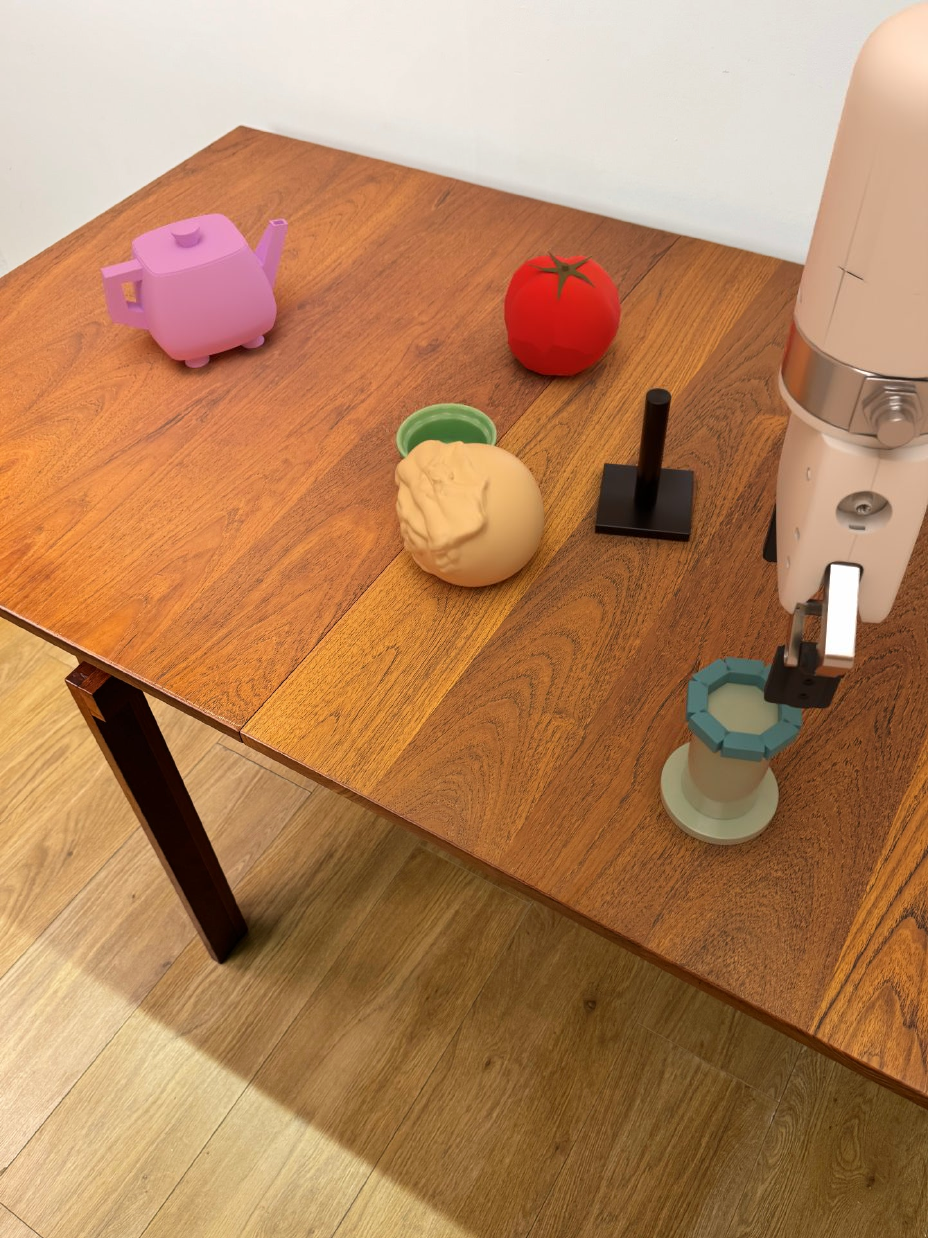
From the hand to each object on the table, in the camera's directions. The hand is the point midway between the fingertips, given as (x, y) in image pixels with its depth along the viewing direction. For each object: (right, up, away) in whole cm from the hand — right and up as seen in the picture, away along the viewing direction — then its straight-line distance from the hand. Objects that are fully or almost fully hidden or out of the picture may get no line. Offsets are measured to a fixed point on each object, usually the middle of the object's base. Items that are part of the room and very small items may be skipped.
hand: (792, 626), depth 53 cm
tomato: (-8, +27, +49) cm, 56 cm away
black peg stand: (-2, +10, +35) cm, 36 cm away
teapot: (-44, +31, +54) cm, 77 cm away
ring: (0, -5, +9) cm, 10 cm away
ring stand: (0, -12, +16) cm, 20 cm away
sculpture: (-17, +6, +32) cm, 37 cm away
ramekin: (-19, +14, +39) cm, 45 cm away
